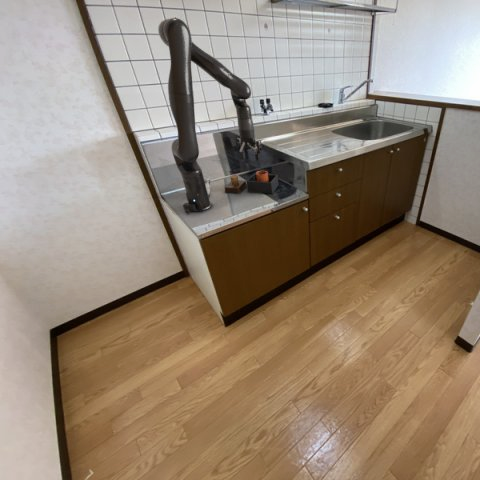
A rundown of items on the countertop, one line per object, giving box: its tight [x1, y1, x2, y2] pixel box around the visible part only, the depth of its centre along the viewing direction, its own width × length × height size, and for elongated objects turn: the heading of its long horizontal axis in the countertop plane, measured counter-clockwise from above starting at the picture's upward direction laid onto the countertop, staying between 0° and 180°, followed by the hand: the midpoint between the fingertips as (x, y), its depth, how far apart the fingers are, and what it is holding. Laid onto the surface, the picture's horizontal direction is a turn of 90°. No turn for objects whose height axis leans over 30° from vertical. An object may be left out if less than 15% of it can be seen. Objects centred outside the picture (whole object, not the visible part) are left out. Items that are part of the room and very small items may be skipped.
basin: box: [245, 172, 280, 195], centre depth 153 cm, size 12×14×6 cm
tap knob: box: [229, 174, 239, 185], centre depth 152 cm, size 4×4×5 cm
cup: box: [255, 170, 269, 182], centre depth 152 cm, size 6×6×9 cm
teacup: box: [204, 178, 212, 196], centre depth 146 cm, size 14×11×8 cm
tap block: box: [224, 179, 247, 194], centre depth 154 cm, size 11×8×3 cm
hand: (250, 159), depth 145 cm, fingers open, 8 cm apart
